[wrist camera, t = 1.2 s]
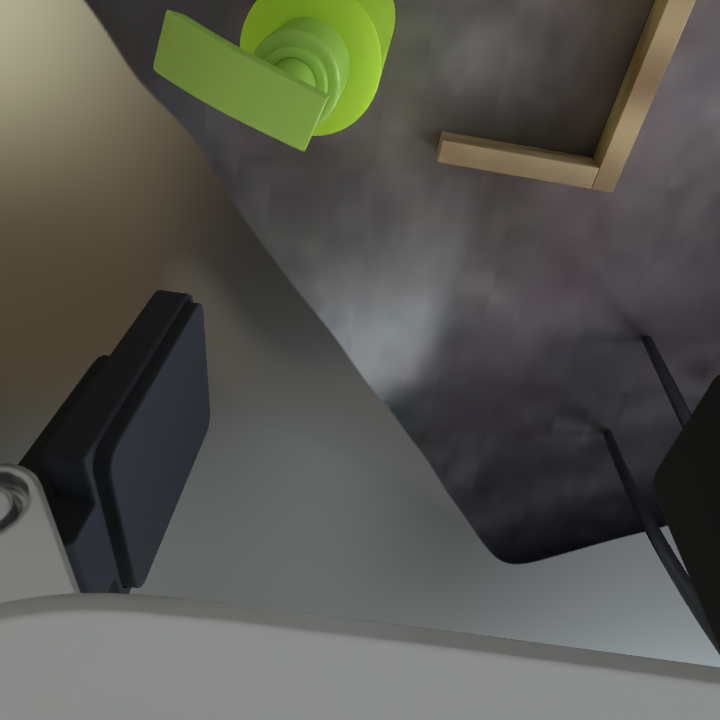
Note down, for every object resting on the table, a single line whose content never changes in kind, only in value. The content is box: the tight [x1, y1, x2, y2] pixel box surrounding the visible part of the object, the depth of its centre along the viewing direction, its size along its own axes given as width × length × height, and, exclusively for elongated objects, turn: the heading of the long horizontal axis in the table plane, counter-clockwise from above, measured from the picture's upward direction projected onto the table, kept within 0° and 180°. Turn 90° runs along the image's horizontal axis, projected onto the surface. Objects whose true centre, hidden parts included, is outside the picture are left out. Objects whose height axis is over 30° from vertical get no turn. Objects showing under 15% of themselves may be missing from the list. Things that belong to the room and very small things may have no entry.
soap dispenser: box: [153, 0, 395, 152], centre depth 26 cm, size 6×7×20 cm
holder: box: [437, 0, 696, 193], centre depth 33 cm, size 14×11×2 cm
